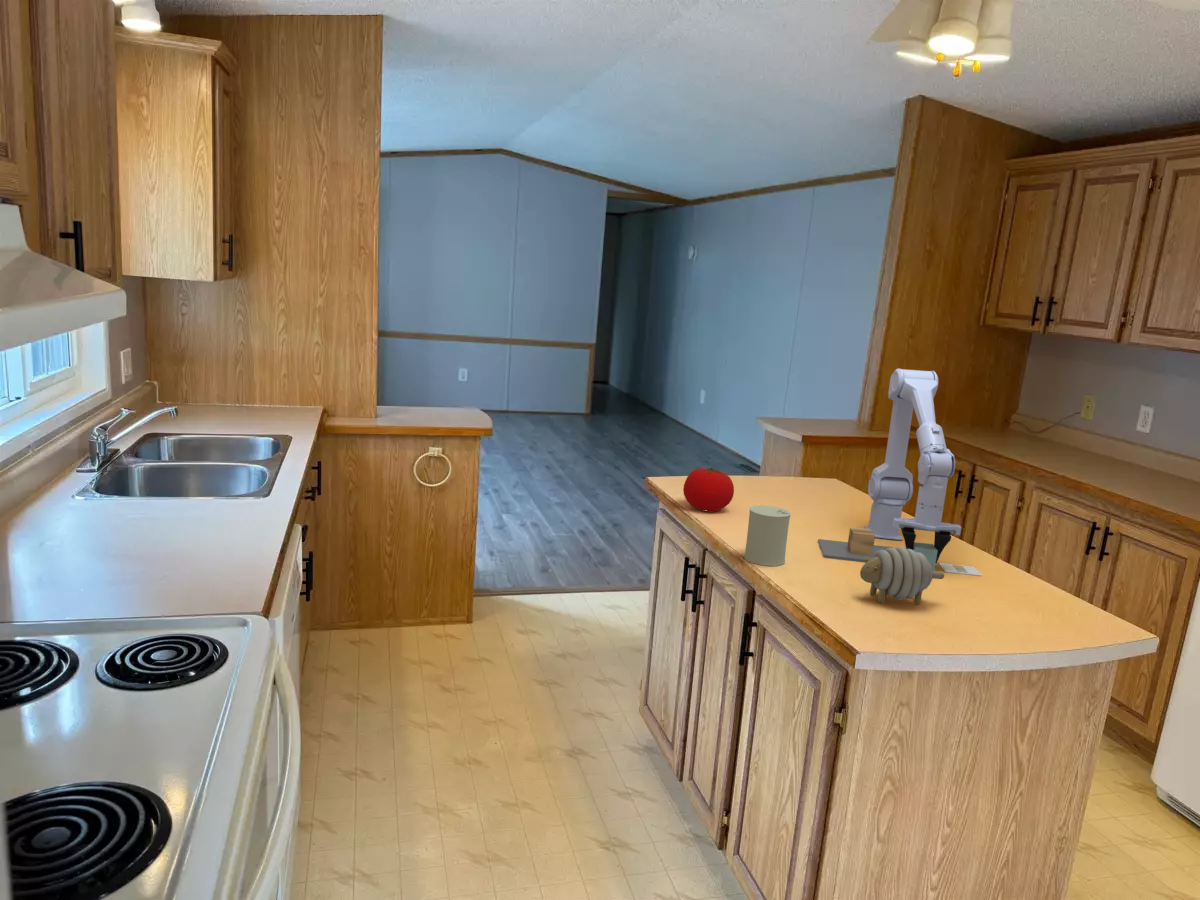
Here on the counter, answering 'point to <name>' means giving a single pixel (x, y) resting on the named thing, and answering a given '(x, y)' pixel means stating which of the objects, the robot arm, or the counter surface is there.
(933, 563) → the teal block
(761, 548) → the can
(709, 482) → the tomato
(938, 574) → the toy sheep
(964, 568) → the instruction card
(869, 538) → the brown wooden cube
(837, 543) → the baseplate
